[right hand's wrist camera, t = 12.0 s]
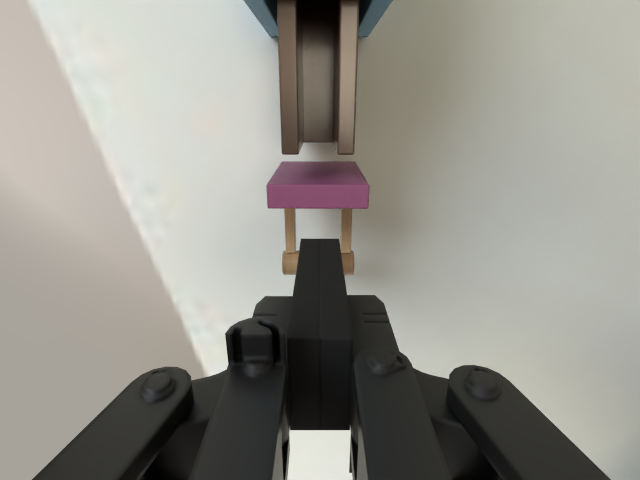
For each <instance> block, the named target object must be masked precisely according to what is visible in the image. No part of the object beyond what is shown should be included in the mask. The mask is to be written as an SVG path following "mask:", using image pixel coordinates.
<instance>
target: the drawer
mask: <svg viewBox="0 0 640 480" xmlns="http://www.w3.org/2000/svg"><path fill="white" fill-rule="evenodd" d="M277 23H278V53H279V82H280V112H281V142H282V154H299V152H300V149H301V147H302V145H303V143H304V142H333V143H334V145H335V148H336V151H337V154H339V155H353V154H354V143H355V114H356V84H357V54H358V25H359V0H277ZM267 204H268V208H285V238H286V251H284V252H283V259H282V268H283V274H284V275H296V271H297V264H298V257H299V251H296V222H295V208H331V209H341V257H342V264H343V271H344V275H353V273H354V253H353V251H351V227H352V209H367V208H368V204H369V184H368V182H367V181H366V179H365V177H364V176H363V174H362V173H361V171H360V169H359V168H358V166H357V164H356V163H355V162H282V163H281V164H280V166H279V167H278V169H277V170H276V172H275V173H274V175H273V176H272V178H271V179H270V181H269V182H268V184H267Z"/></svg>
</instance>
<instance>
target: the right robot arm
mask: <svg viewBox="0 0 640 480" xmlns="http://www.w3.org/2000/svg"><path fill="white" fill-rule="evenodd" d="M225 335H226V344H227V354H228V363H229V365H228V368H227V370H225V371H223V372H221V373H219V374H216V375H213V376H210V377H205V378H201V379H197V380H192V381H191V376H190V375H189V374H188V372H187V371H186V370H183V369H181V368H178V367H163V368H158V369H153V370H151V371H149V372H147V373H145V374H142V375H141V376H139V377H138V378H137V379H135V380H134V381H133V382H131V383H130V384H129V385H128V386H127V387H126V388H125V389H124V390H123V391H122V392H121V393H120V394H119V395H118V396H117V397H116V398H115V399H114V400H113V401H112V402H111V403H110V404H109V405H108V406H107V407H106V408H105V409H104V410H103V411H102V412H101V413H100V414H99V415H98V416H97V417H96V418H95V419H94V420H93V421H92V422H90V423H89V424H88V425H87V426H86V427H85V428H84V429H83V430H82V431H81V432H80V433H79V434H78V435H77V436H76V437H75V438H74V439H73V440H72V441H71V442H70V443H69V444H68V445H67V446H66V447H65V448H64V449H63V450H62V451H61V452H60V453H59V454H58V455H57V456H56V457H55V458H54V459H53V460H52V461H51V462H50V463H49V464H48V465H47V466H46V467H45V468H44V469H42V470H41V471H40V472H39V473H38V474H37V475H36V476H35V477H34V478H33V479H32V480H287V476H288V464H289V452H290V444H289V430H350V428H351V444H350V470H349V473H352V475H353V480H611V479H610V478H608V477H607V476H606V475H605V474H604V473H603V472H602V471H601V470H600V469H599V468H598V467H597V466H596V465H595V464H594V463H593V462H592V461H591V460H590V459H589V458H588V457H587V456H586V455H585V454H584V453H583V452H582V451H581V450H580V449H579V448H578V447H577V446H576V445H575V444H573V443H572V442H571V441H570V440H569V439H568V438H567V437H566V436H565V435H564V434H563V433H562V432H561V431H560V430H559V429H558V428H557V427H556V426H555V425H554V424H553V423H552V422H551V421H550V420H549V419H548V418H547V417H546V416H545V415H544V414H543V413H542V412H541V411H540V410H539V409H537V408H536V407H535V406H534V405H533V404H532V403H531V402H530V401H529V400H528V399H527V398H526V397H525V396H524V395H523V394H522V393H521V392H520V391H519V390H518V389H517V388H516V387H515V386H514V385H513V384H512V383H511V382H510V381H509V380H507V379H506V378H505V377H503V376H502V375H501V374H499V373H497V372H495V371H493V370H491V369H488V368H485V367H481V366H476V365H463V366H461V367H458V368H455V369H454V370H453V371H452V372H451V374H450V375H449V379H446V378H441V377H437V376H433V375H429V374H426V373H423V372H420V371H418V370H416V369H414V368H413V367H412V364H411V363H410V361H409V359H408V358H407V357H406V356H405V355H404V354H402V353H401V352H400V351H399V349H398V346H397V343H396V340H395V336H394V333H393V330H392V327H391V324H390V322H389V318H388V315H387V312H386V309H385V306H384V303H383V302H382V301H381V300H379V299H378V298H377V297H376V296H375V295H347V292H346V285H345V278H344V271H343V264H342V257H341V250H340V243H339V239H301V243H300V250H299V257H298V264H297V271H296V278H295V285H294V292H293V296H265V297H264V298H263V299H262V300H261V301H260V302H259V303H258V304H256V307H255V310H254V313H253V316H252V318H249V319H246V320H243V321H240V322H238V323H236V324H234V325H233V326H231V327H230V328H229V329H228V331H227V332H226V333H225Z"/></svg>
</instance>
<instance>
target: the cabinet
mask: <svg viewBox="0 0 640 480" xmlns="http://www.w3.org/2000/svg"><path fill="white" fill-rule="evenodd" d="M244 1H245V3H246V4H247V5H248V7H249V8H250V10H251V11H252V12H253V14H254V15H255V16H256V18H257V19H258V21H259V22H260V23H261V25H262V26H263V27H264V29H265V30H266V32H267V33H268V35H269V36H278V23H277V0H244ZM392 1H393V0H359V25H358V37H367V36H368V35H369V34H370V32H371V31H372V29H373V28H374V27H375V25H376V24H377V22H378V21H379V19H380V18H381V16H382V15H383V14H384V12H385V11H386V9H387V8H388V6H389V5H390V3H391V2H392Z"/></svg>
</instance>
